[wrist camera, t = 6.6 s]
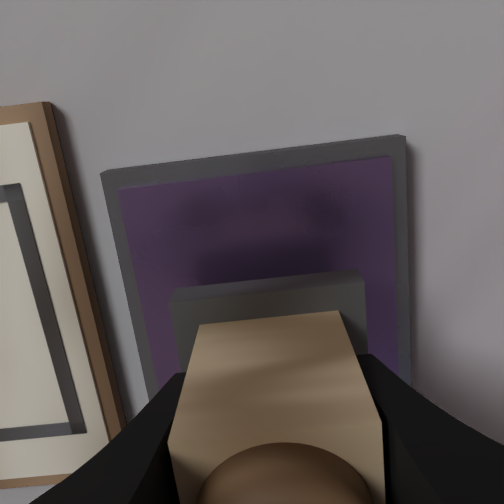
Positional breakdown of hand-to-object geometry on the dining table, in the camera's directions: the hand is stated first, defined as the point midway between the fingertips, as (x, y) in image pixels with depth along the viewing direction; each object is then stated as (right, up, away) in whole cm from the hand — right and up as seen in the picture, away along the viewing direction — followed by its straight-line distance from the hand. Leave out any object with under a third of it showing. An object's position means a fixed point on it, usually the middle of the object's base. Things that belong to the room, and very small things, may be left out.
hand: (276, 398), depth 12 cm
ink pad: (0, +2, +5) cm, 5 cm away
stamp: (0, +1, +2) cm, 2 cm away
